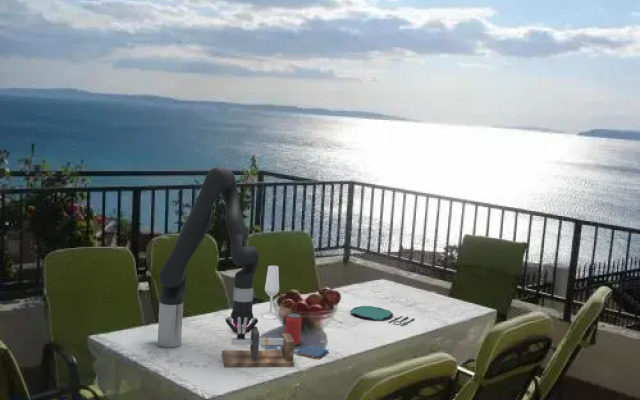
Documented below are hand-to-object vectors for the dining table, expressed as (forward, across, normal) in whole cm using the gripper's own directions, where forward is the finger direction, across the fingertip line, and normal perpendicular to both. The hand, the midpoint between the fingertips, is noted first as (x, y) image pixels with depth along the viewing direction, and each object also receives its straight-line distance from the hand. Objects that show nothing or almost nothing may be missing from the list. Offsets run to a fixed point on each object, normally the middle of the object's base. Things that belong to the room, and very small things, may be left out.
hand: (240, 342), depth 263 cm
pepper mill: (+6, -3, -33) cm, 34 cm away
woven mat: (+7, -29, -4) cm, 31 cm away
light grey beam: (0, -7, +3) cm, 7 cm away
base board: (+6, -6, +3) cm, 9 cm away
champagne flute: (+6, -19, -55) cm, 59 cm away
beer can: (+6, -23, -17) cm, 30 cm away
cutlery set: (+7, -74, -56) cm, 93 cm away
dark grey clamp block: (+3, -5, +3) cm, 7 cm away
